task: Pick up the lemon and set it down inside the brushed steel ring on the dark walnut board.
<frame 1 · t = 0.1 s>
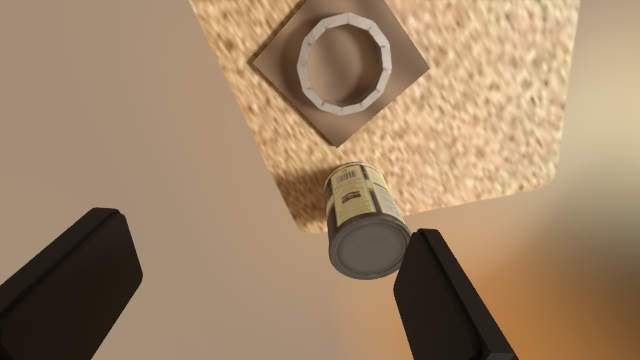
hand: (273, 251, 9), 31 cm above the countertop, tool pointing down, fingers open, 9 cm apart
walnut board: (341, 64, 35), on the countertop
steel ring: (343, 67, 33), on the walnut board, point 2 cm above the countertop
coffee can: (354, 189, 45), on the countertop
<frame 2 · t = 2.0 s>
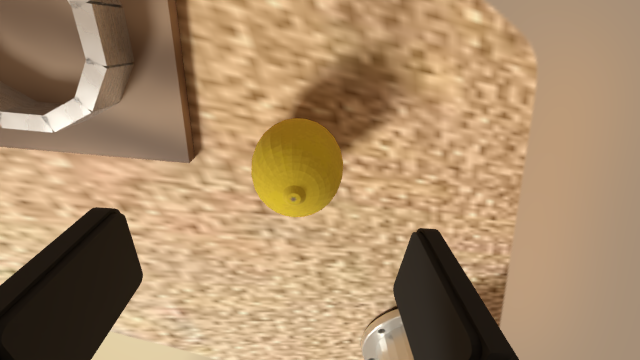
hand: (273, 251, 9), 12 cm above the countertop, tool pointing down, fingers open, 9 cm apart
lemon: (301, 141, 21), on the countertop
walnut board: (45, 25, 16), on the countertop
steel ring: (8, 24, 15), on the walnut board, point 2 cm above the countertop
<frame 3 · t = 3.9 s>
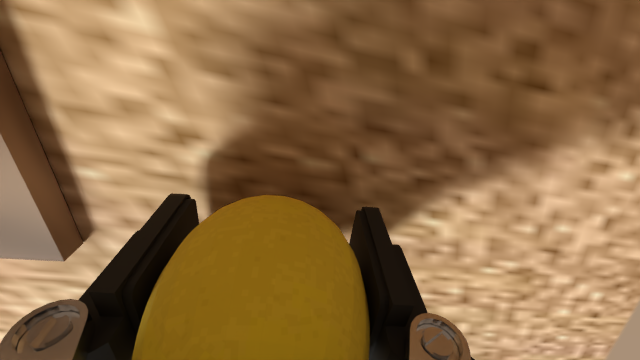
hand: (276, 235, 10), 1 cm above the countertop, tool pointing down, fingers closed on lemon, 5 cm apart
lemon: (279, 213, 11), on the countertop, touching gripper
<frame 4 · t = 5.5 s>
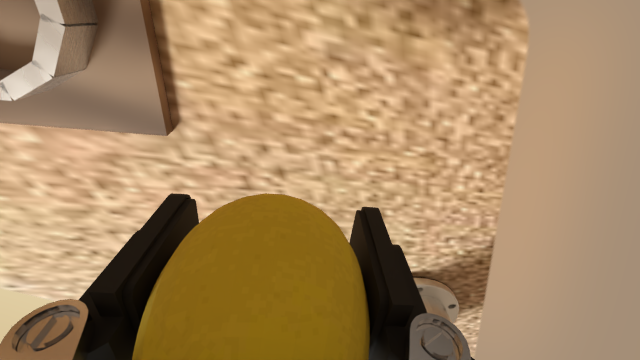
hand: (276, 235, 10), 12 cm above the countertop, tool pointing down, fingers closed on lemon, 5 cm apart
lemon: (279, 212, 11), point 10 cm above the countertop, touching gripper
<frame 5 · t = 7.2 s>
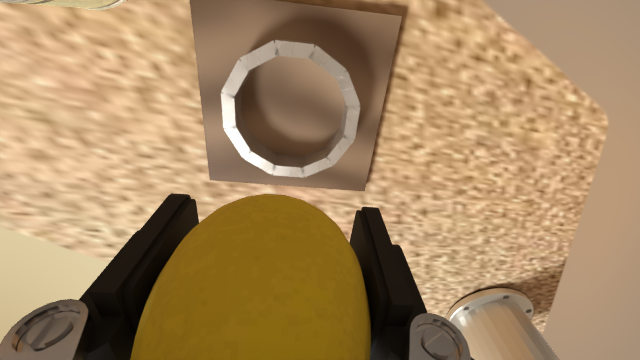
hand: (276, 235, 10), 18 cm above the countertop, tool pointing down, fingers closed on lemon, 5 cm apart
lemon: (280, 213, 11), point 16 cm above the countertop, touching gripper
walnut board: (293, 106, 25), on the countertop
steel ring: (292, 113, 23), on the walnut board, point 2 cm above the countertop
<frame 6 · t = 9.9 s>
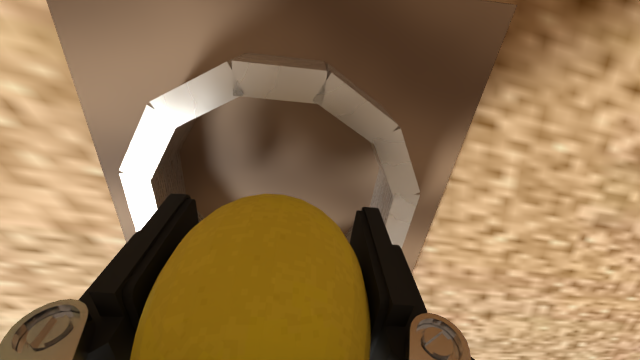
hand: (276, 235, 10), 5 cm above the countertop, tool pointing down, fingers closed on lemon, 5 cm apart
lemon: (279, 212, 11), point 3 cm above the countertop, touching gripper
walnut board: (282, 172, 14), on the countertop
steel ring: (278, 197, 12), on the walnut board, point 2 cm above the countertop
when the fingers open (5 cm above the countertop, at t = 10.5 s): lemon drops 2 cm, resting on walnut board.
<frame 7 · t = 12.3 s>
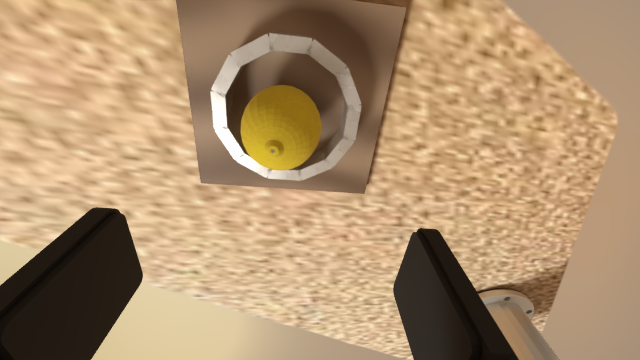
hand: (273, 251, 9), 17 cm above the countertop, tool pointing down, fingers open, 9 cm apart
lemon: (289, 109, 23), point 1 cm above the countertop, touching walnut board
walnut board: (289, 104, 24), on the countertop
steel ring: (288, 112, 22), on the walnut board, point 2 cm above the countertop
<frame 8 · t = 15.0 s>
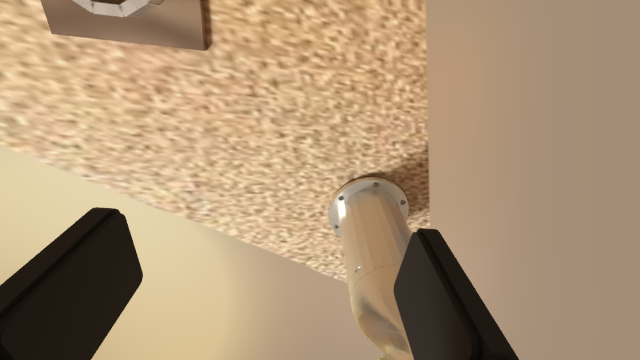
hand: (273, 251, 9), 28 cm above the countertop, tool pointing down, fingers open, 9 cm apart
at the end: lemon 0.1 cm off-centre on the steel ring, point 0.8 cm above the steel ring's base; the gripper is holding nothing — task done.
